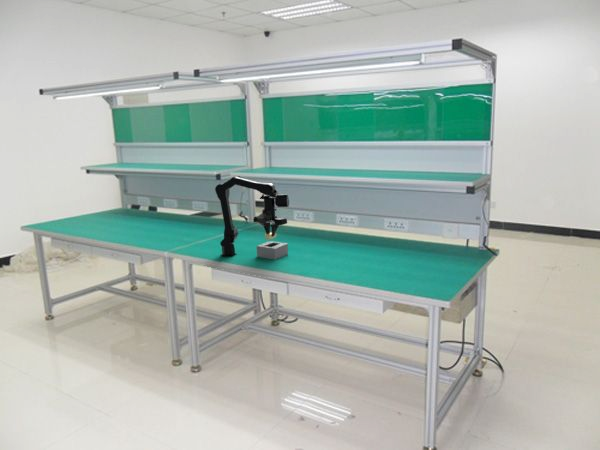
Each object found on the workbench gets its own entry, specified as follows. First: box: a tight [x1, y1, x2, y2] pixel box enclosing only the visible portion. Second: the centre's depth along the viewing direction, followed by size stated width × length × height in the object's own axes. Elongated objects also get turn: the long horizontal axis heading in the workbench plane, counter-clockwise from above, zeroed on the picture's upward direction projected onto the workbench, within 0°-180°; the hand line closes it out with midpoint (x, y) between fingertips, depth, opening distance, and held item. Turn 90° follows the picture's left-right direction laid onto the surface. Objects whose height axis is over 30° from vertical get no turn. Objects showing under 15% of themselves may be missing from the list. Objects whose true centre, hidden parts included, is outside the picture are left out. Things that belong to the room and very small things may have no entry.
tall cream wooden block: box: [264, 231, 277, 240], centre depth 247 cm, size 3×6×2 cm, turn 145°
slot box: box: [256, 240, 289, 261], centre depth 249 cm, size 12×12×6 cm
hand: (270, 235), depth 247 cm, fingers closed on tall cream wooden block, 3 cm apart
